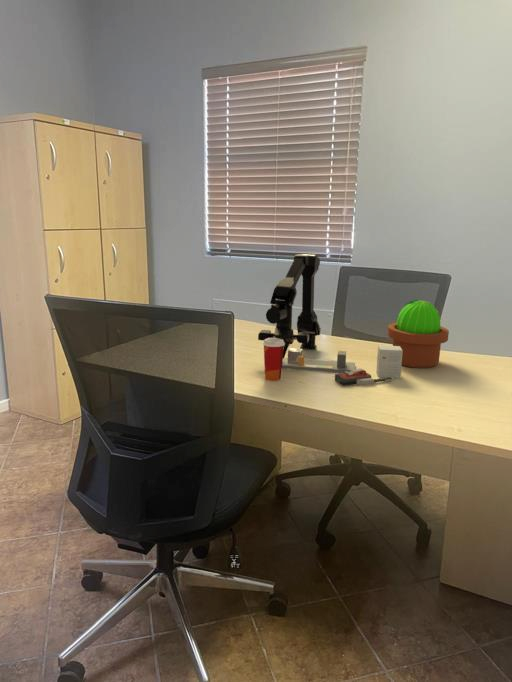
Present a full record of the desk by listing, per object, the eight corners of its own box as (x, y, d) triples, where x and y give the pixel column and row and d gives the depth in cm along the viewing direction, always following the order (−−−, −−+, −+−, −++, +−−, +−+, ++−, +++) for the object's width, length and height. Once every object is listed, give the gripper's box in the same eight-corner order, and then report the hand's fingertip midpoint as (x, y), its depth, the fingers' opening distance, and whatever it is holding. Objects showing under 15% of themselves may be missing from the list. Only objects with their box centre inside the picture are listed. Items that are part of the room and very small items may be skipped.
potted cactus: (456, 367, 199) (464, 302, 193) (408, 372, 192) (414, 306, 185) (420, 351, 219) (426, 292, 213) (375, 356, 212) (379, 295, 205)
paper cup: (272, 373, 189) (273, 336, 186) (288, 378, 184) (289, 340, 180) (257, 378, 184) (257, 339, 180) (273, 383, 179) (274, 344, 175)
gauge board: (277, 360, 205) (277, 344, 204) (354, 365, 199) (355, 350, 198) (273, 367, 196) (273, 351, 194) (354, 373, 190) (355, 357, 188)
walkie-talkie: (343, 390, 175) (393, 383, 182) (344, 377, 174) (394, 371, 181) (330, 381, 183) (378, 375, 190) (331, 369, 182) (379, 363, 189)
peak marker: (299, 363, 195) (299, 355, 195) (304, 363, 195) (304, 356, 194) (298, 364, 194) (298, 357, 193) (303, 365, 193) (304, 357, 192)
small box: (398, 373, 191) (400, 345, 188) (400, 378, 186) (403, 350, 183) (375, 372, 192) (378, 345, 189) (377, 377, 186) (380, 349, 184)
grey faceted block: (289, 359, 201) (289, 348, 200) (301, 360, 200) (302, 348, 199) (286, 364, 194) (286, 353, 193) (299, 365, 193) (299, 354, 192)
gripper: (255, 321, 189) (254, 362, 193) (306, 324, 186) (304, 366, 190) (261, 315, 200) (260, 354, 204) (310, 318, 196) (308, 357, 200)
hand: (283, 358), depth 199 cm, fingers closed
